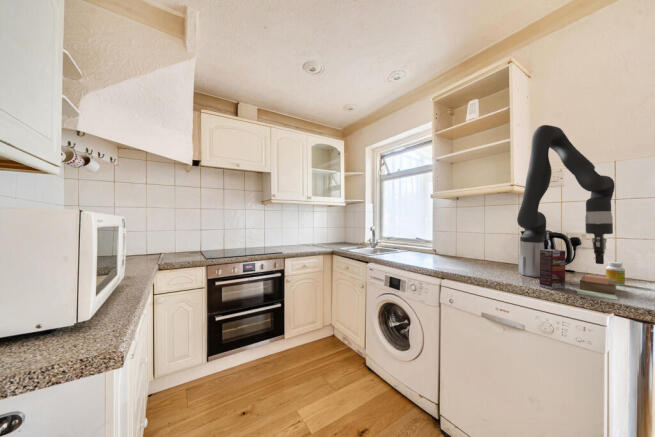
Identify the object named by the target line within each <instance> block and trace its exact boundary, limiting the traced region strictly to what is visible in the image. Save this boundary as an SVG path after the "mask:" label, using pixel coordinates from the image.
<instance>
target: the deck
mask: <svg viewBox="0 0 655 437" xmlns="http://www.w3.org/2000/svg"><path fill="white" fill-rule="evenodd" d="M586 275H587V274H584V275H583V276H582V277H581V278H580V279H579V290H585V291H592V292H598V293H605V294H611V295H616V290H617V285H616V279H609V284H602V283H595V282H588V281H585V276H586Z"/></svg>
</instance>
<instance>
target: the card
mask: <svg viewBox="0 0 655 437" xmlns="http://www.w3.org/2000/svg"><path fill="white" fill-rule="evenodd" d="M585 275H586V276H585V281H588V282H595V283H602V284H609V277H606V276H602V275H593V274H587V273H586V274H585Z"/></svg>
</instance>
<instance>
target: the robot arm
mask: <svg viewBox="0 0 655 437" xmlns="http://www.w3.org/2000/svg"><path fill="white" fill-rule="evenodd" d="M530 145H531V147H530V157H529V158H530V159H529V163H528V170H527V174H526V179H525V184H524V185H525V186H524V191H523V195H522V201H521V204H520V208H519V211H518V214H517V218H516V221H517V225H518V226H519V227H520V228H522V229H524V232H523V233H522V234H521V235H520V238H519V239H520V240H519V255H518V274H520V275H522V276H526V277H527V276H528V277H535V278H536V277H537V278H540V250H545V249H544V246H545V245H544V244H545V242H544V240H545V238H546V236H547V235H546V233H547V217H546V216H545V214H544V213H542V212H540V211H539V207H540V202H541V200H542V199H543V197H544V196H545V194H546V192H547V191H548V189H549V186H550V185H551V178H552V175H553V174H552V170H553V169H552V166H551V161H550V158H549V156H550V155H549V152H550V149H551V150H553V151H554V152H555V153H556V154H557V155H558V156H559V159H560V160H561V162H562V164H563V166H564V167H565V169H567V170H568V171H569V172H570V173H571V174H572V175H573V176H574V178H575V180H576V182H577V183H578V184H579V186H580V187H581V188H582V189H583V190H585V191H587V192H590V198H588V199H587V200H586V201H585V220H584V222H585V234H588V235H590V234H592V235H593V236H594V237H592V238H591V243H592V249H593V253H594V255H595V256H594V258H595V264H597V265H604V263H605V259H604V257H605V252H606V251H605V250H606V249H607V247H606V244H607V238H605V237H604V236H605V235H612V234H614V224H613V219H614V217H613V213H612V198H613V195H614V192H615V191H614V190H615V186H616V185H615V180H614V179H613V178H612V177H610V176H608V175H601V174H600V173H598V172H597V171H596V170H595V169H596V166H595V165H594V164H593V163H592V162H591V161H590V160H589V159H588V158H587V157H586V156H585V155H584V154H582V153H581V152H580V150H579V149H577V148H576V147H575V145H574V144H573V143H572V142H571V141H570V139H569V137H568V136H567V135H566V133H565V132H564V131H563V129H561V127H558V126H554V125H549V124H543V125H540V126H538V127H537V128H536V129H535V130H534V131H533V134H532V135H531V143H530Z"/></svg>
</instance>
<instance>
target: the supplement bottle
mask: <svg viewBox="0 0 655 437" xmlns="http://www.w3.org/2000/svg"><path fill="white" fill-rule="evenodd" d="M607 262H608V264H607V266H606V268H605V277H609V279H616V286H625V285H626V281H625V280H626V275H625V274H626V272H625V268H624V267H623V263H622V262H619V261H618V262H617V261H607Z"/></svg>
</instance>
